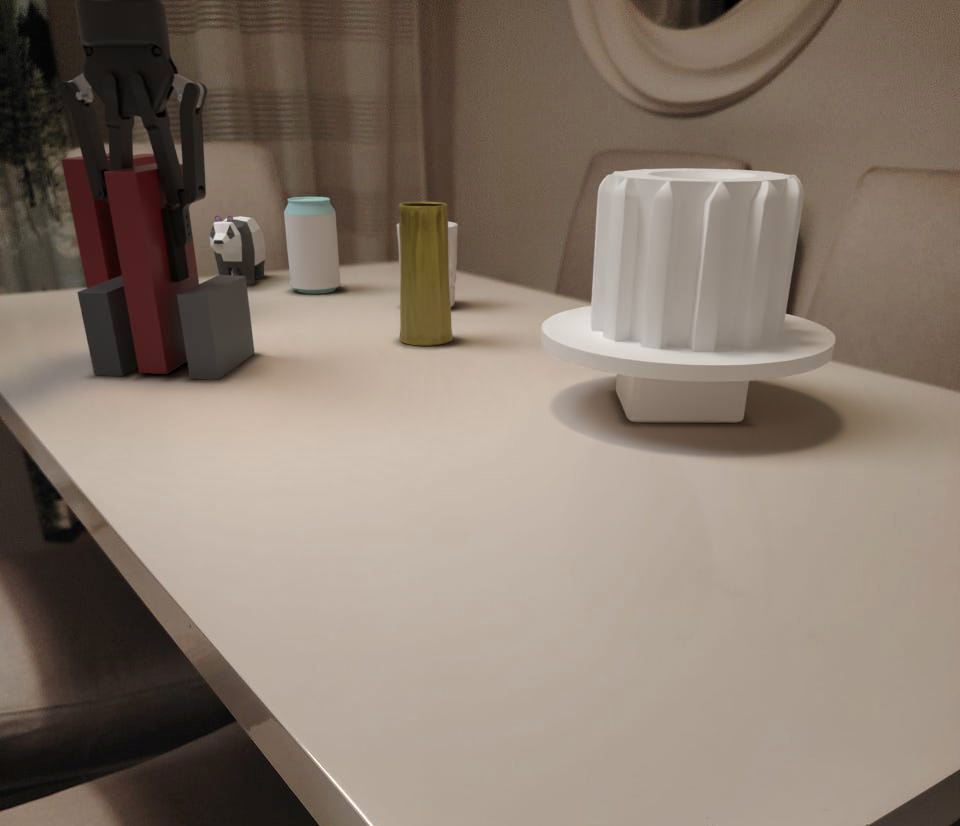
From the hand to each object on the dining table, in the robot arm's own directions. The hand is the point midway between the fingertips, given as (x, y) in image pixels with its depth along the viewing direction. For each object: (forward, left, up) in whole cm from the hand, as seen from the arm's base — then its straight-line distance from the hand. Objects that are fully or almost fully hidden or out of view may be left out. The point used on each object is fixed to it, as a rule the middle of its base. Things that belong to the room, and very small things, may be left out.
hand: (162, 278), depth 94 cm
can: (+3, +43, -9) cm, 44 cm away
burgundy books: (-14, +24, -8) cm, 29 cm away
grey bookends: (0, 0, -8) cm, 8 cm away
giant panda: (-10, +48, -9) cm, 50 cm away
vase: (+24, +14, -9) cm, 29 cm away
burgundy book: (0, 0, -8) cm, 8 cm away
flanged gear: (+51, -9, -9) cm, 53 cm away
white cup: (+21, +34, -9) cm, 41 cm away
